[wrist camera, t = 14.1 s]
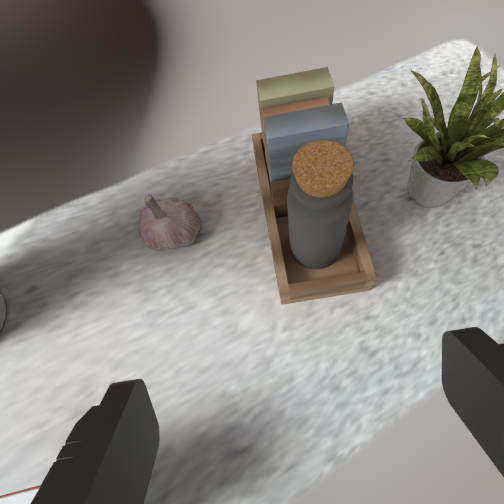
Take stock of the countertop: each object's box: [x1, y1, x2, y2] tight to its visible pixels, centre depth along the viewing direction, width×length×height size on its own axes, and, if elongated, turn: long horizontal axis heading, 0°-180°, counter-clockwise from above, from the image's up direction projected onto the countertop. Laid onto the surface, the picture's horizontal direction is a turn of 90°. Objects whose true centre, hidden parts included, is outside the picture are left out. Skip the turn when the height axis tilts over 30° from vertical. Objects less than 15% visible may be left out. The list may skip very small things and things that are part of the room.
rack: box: [252, 67, 377, 305], centre depth 38 cm, size 22×10×13 cm, turn 8°
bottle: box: [287, 140, 354, 269], centre depth 34 cm, size 6×6×15 cm
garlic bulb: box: [139, 195, 200, 250], centre depth 42 cm, size 8×7×8 cm
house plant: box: [403, 46, 504, 207], centre depth 36 cm, size 14×14×16 cm
